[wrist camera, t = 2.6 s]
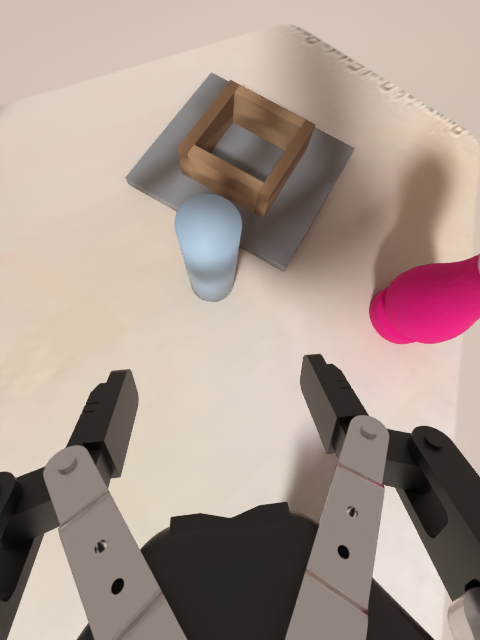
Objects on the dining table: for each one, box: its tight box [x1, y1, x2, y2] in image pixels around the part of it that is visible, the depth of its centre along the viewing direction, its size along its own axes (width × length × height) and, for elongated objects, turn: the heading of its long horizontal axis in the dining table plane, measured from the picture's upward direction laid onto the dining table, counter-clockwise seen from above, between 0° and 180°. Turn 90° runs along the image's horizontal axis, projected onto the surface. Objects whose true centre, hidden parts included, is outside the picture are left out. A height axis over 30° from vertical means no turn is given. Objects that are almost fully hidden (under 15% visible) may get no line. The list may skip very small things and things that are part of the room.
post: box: [175, 194, 242, 302], centre depth 24 cm, size 4×4×11 cm
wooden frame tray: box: [126, 73, 355, 271], centre depth 30 cm, size 20×18×4 cm
